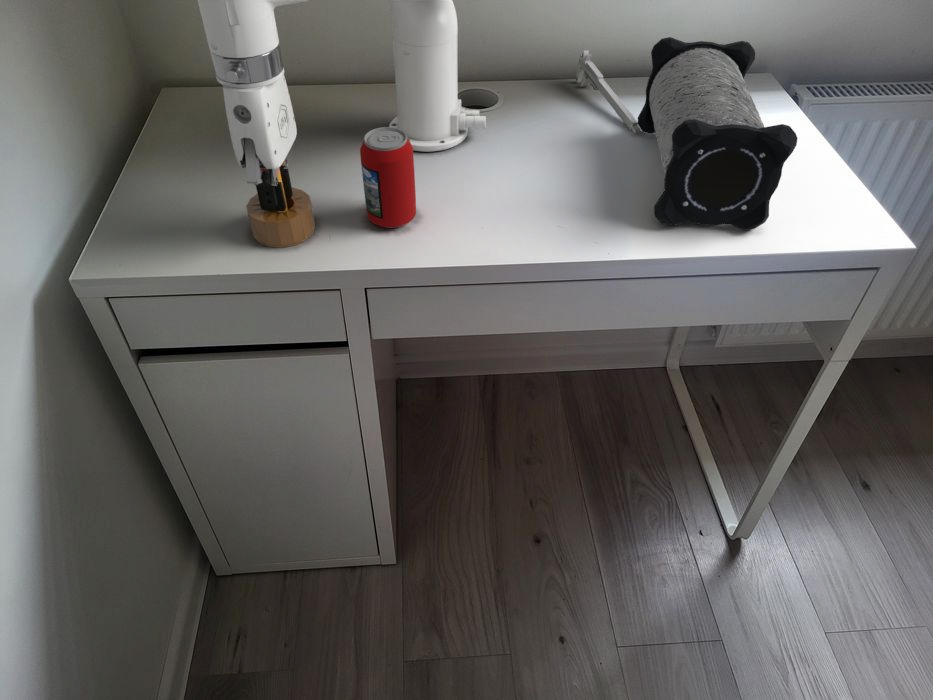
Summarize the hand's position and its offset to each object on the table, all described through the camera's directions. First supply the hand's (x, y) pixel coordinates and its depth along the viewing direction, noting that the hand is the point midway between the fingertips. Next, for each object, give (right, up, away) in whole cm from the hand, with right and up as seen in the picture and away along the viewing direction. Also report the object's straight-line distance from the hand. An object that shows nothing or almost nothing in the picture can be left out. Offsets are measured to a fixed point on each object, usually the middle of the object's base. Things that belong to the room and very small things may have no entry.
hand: (277, 201), depth 92 cm
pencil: (0, -3, +3) cm, 4 cm away
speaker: (+58, +6, +13) cm, 60 cm away
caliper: (+48, +22, +29) cm, 61 cm away
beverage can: (+14, -1, +5) cm, 15 cm away
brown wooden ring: (0, -3, +3) cm, 4 cm away
